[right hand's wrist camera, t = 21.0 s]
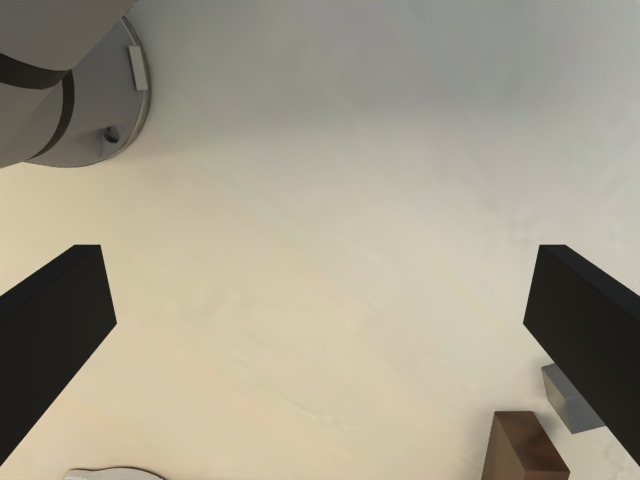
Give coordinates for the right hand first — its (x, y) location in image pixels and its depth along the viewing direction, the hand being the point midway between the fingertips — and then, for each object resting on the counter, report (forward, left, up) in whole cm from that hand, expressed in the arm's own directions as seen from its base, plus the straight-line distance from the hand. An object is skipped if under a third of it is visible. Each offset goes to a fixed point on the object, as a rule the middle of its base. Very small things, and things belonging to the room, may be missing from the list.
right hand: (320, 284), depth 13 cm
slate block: (+28, -26, -27) cm, 47 cm away
